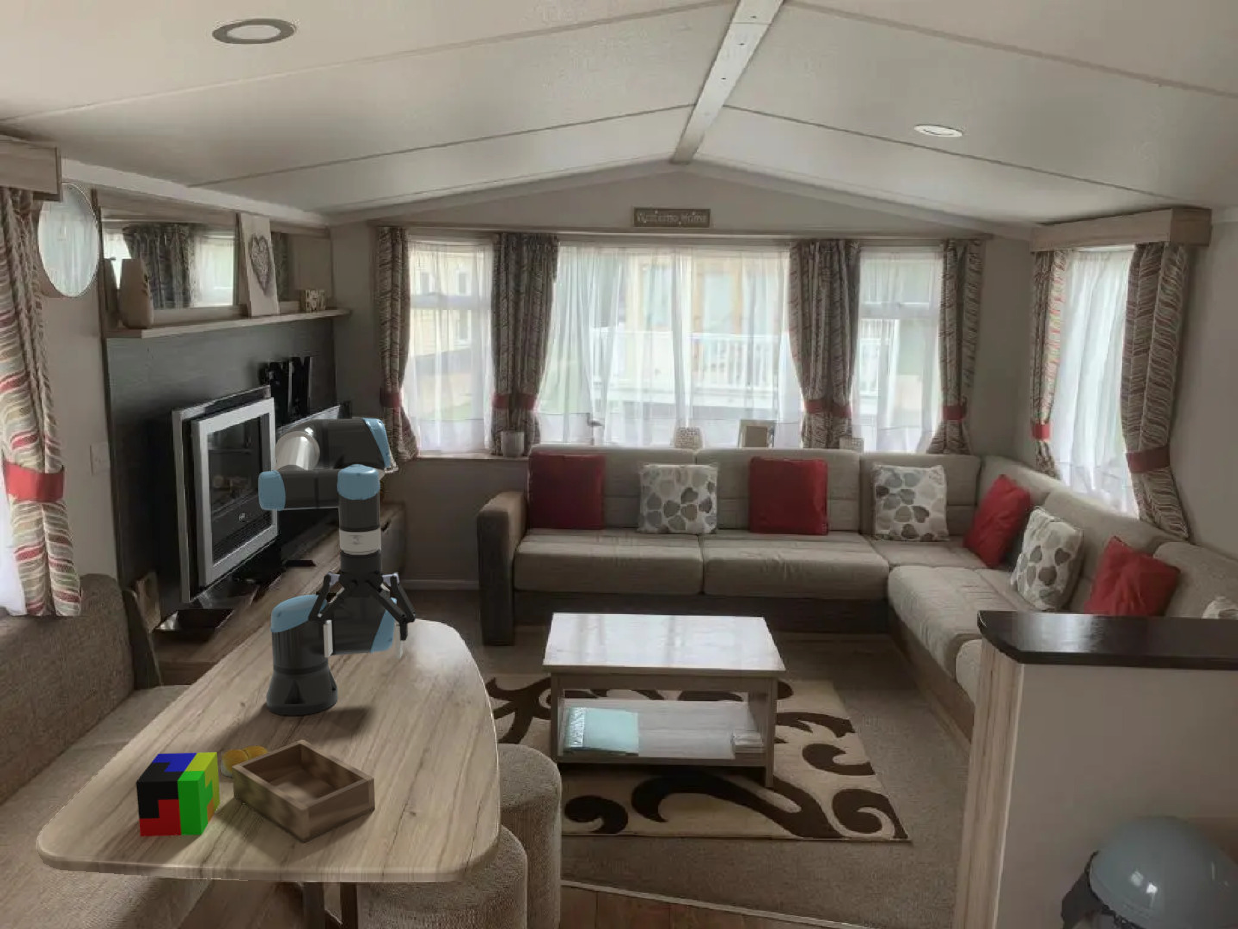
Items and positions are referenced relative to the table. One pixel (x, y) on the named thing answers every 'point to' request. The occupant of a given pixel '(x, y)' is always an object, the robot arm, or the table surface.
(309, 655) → the robot arm
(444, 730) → the table surface
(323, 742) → the table surface
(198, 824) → the puzzle toy
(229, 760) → the bread roll
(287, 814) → the wooden box
